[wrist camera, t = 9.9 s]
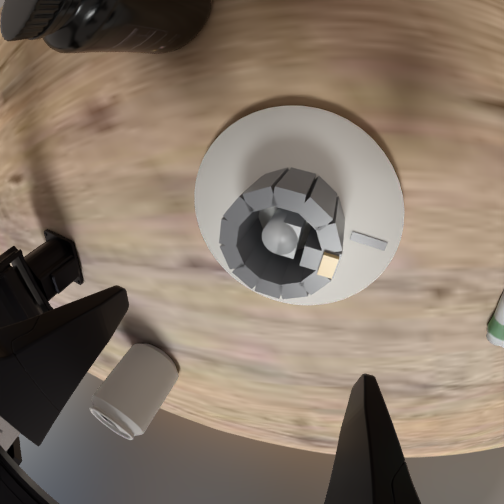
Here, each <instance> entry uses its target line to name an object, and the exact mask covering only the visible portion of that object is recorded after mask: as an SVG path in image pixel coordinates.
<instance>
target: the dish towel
mask: <svg viewBox="0 0 504 504" xmlns="http://www.w3.org/2000/svg"><path fill="white" fill-rule="evenodd" d="M486 337H487V339H488V341H489V342H490V343H492V344H494V345H497V346H501V347H504V291H503V293H502V296H501V298H500V300H499V303H498V305H497V308H496V311H495V313H494V315H493V317H492V319H491V320H490V322H489V324H488V326H487V335H486Z"/></svg>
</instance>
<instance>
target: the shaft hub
mask: <svg viewBox="0 0 504 504" xmlns="http://www.w3.org/2000/svg"><path fill="white" fill-rule="evenodd" d="M287 167H288V169H289V170H290V168H291V167H292V168H296V169H300V170H304V171H307V172H311V173H315V174H316V176H315V179H316V178H317V177H318V176H320V177H321V178H322V179H323V180H324V181H325V182H326V183H327V184H328V185H329V186H330V187H331V188H332V189H333V190H334V191H335V192H336V193H337V197H338V196H339V198H340V202H341V206H342V210H343V213H344V217H345V227H344V240H343V251H342V256H341V259H340V262H339V265H338V267H337V270H336V273H335V275H334V278H332V279H331V282H329V283H328V284H326V285H325V286H324V287H322V288H321V289H319V290H318V291H317V292H315V293H314V294H312V295H310V294H308V297H299V298H290V299H283V298H282V296H280V298H279V299H278V298H275V297H272V296H269V295H265V294H262V293H259V292H256V291H255V287H254V288H252V289H251V288H250V287H248V286H247V285H246V284H245V283H244V282H243V281H241V280H240V279H239V278H238V277H237V276H236V275H235V274H233V273H232V271H233V270H234V269H229V267H228V264H227V262H226V260H225V258H224V255H223V253H222V251H221V249H220V246H221V244H220V243H219V238H220V227H221V219H222V218H223V215H224V214H225V212H226V211H227V210H228V209H229V208H230V206H231V205H232V204H233V203H234V202H235V201H236V199H237V198H238V197H239V196H240V195H241V194H242V193H243V192H244V191H246V190H247V189H248V188H249V187H250V186H251V185H252V184H253V183H255V182H256V181H257V180H258V179H259V178H260V177H261V176H263V175H264V174H266V173H270V172H273V171H277V170H280V169H284V168H287ZM195 211H196V217H197V221H198V225H199V228H200V231H201V233H202V236H203V238H204V241H205V242H206V244H207V246H208V248H209V250H210V251H211V253H212V254H213V256H214V257H215V259H216V260H217V261H218V262H219V264H220V265H221V266H222V267H223V268H224V269H225V270H226V271H227V272H228V273H229V274H230V275H231V276H232V277H233V278H235V279H236V280H237V281H238V282H240V283H241V284H242V285H244V286H246V287H247V288H249V289H250V290H252V291H254V292H256V293H258V294H260V295H262V296H265V297H267V298H270V299H273V300H276V301H280V302H284V303H289V304H295V305H321V304H327V303H333V302H336V301H339V300H343V299H345V298H348V297H350V296H352V295H354V294H356V293H358V292H360V291H361V290H363V289H365V288H366V287H367V286H369V285H370V284H371V283H372V282H374V281H375V280H376V279H377V278H378V277H379V276H380V275H381V274H382V273H383V272H384V270H385V269H386V267H387V266H388V265H389V263H390V262H391V260H392V258H393V256H394V254H395V252H396V251H397V248H398V245H399V242H400V239H401V236H402V231H403V225H404V202H403V194H402V191H401V187H400V183H399V180H398V177H397V175H396V173H395V170H394V168H393V166H392V164H391V163H390V161H389V160H388V158H387V156H386V155H385V153H384V152H383V150H382V149H381V148H380V147H379V145H378V144H377V143H376V142H375V141H374V140H373V138H371V137H370V136H369V135H368V134H367V133H366V132H365V131H364V130H362V129H361V128H360V127H358V126H357V125H355V124H354V123H352V122H351V121H349V120H348V119H346V118H344V117H342V116H340V115H337V114H335V113H333V112H330V111H327V110H323V109H320V108H315V107H309V106H279V107H272V108H267V109H263V110H260V111H257V112H254V113H252V114H249V115H247V116H245V117H243V118H241V119H239V120H238V121H236V122H235V123H233V124H232V125H230V126H229V127H228V128H227V129H226V130H225V131H223V132H222V133H221V134H220V135H219V136H218V137H217V139H216V140H215V141H214V142H213V143H212V145H211V146H210V148H209V149H208V151H207V153H206V154H205V156H204V158H203V160H202V163H201V165H200V168H199V171H198V175H197V178H196V185H195ZM259 220H260V222H261V225H262V228H263V232H262V241H263V243H264V245H265V246H266V248H267V249H268V250H270V251H271V252H273V253H275V254H278V255H282V256H285V257H288V258H292V259H294V256H295V254H296V251H297V249H302V248H305V244H306V241H307V238H308V235H309V232H310V229H311V225H310V224H309V223H308V222H307V221H306V220H305V219H304V218H303V217H302V216H301V215H300V214H299V213H296V212H292V211H289V210H285V209H281V208H278V207H270V208H266V209H262V210H260V211H259Z"/></svg>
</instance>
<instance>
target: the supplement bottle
mask: <svg viewBox="0 0 504 504" xmlns="http://www.w3.org/2000/svg"><path fill="white" fill-rule="evenodd" d="M210 10H211V0H5V2H4V5H3V9H2V13H1V26H0V27H1V33H2V37H4V40H7V41H15V40H22V39H29V40H34V39H41V38H43V40H44V41H45V43H46V44H47V45H48V46H49V47H50V48H52V49H53V50H55V51H57V52H60V53H87V52H133V53H154V54H160V53H167V52H171V51H174V50H177V49H179V48H181V47H182V46H184V45H186V44H187V43H189V42H190V41H191V40H192V39H193V38H194V37H195V36H196V35H197V34H198V33H199V32H200V31H201V29H202V28H203V26H204V25H205V23H206V21H207V19H208V17H209V14H210Z"/></svg>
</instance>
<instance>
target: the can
mask: <svg viewBox="0 0 504 504" xmlns="http://www.w3.org/2000/svg"><path fill="white" fill-rule="evenodd" d="M177 379H178V372H177V369H176V365H175V364H174V362H173V360H172V359H171V358H170V357H169V356H168V355H167V354H166V353H165V352H163V351H162V350H160V349H159V348H157V347H155V346H153V345H151V344H146V343H144V344H139V343H138V344H134V345H133V346H132V347H131V348H130V349H129V351H128V352H127V353H126V354H125V355H124V357H123V358H122V359H121V360H120V362H119V363H118V364H117V365H116V367H115V368H114V369H113V370H112V372H111V373H110V374H109V376H108V377H107V378H106V379H105V381H104V382H103V383H102V384H101V386H100V387H99V388H98V390H97V391H96V392H95V393H94V395H93V396H92V403H93V407H90V411H91V412H92V413H93V415H94V416H95V417H96V418H97V419H98V420H100V421H101V422H102V423H103V424H104V425H106V426H107V427H109V428H110V429H111V430H113V431H114V432H115V433H117V434H119V435H121V436H122V437H124V438H126V439H129V440H133V437H134V436H136V435H141V434H143V433H144V431H145V430H146V429H147V427H148V425H149V424H150V422H151V421H152V419H153V418H154V416H155V414H156V413H157V411H158V410H159V408H160V406H161V405H162V403H163V402H164V400H165V398H166V397H167V395H168V394H169V392H170V391H171V389H172V387H173V386H174V384H175V383H176V381H177Z"/></svg>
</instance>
